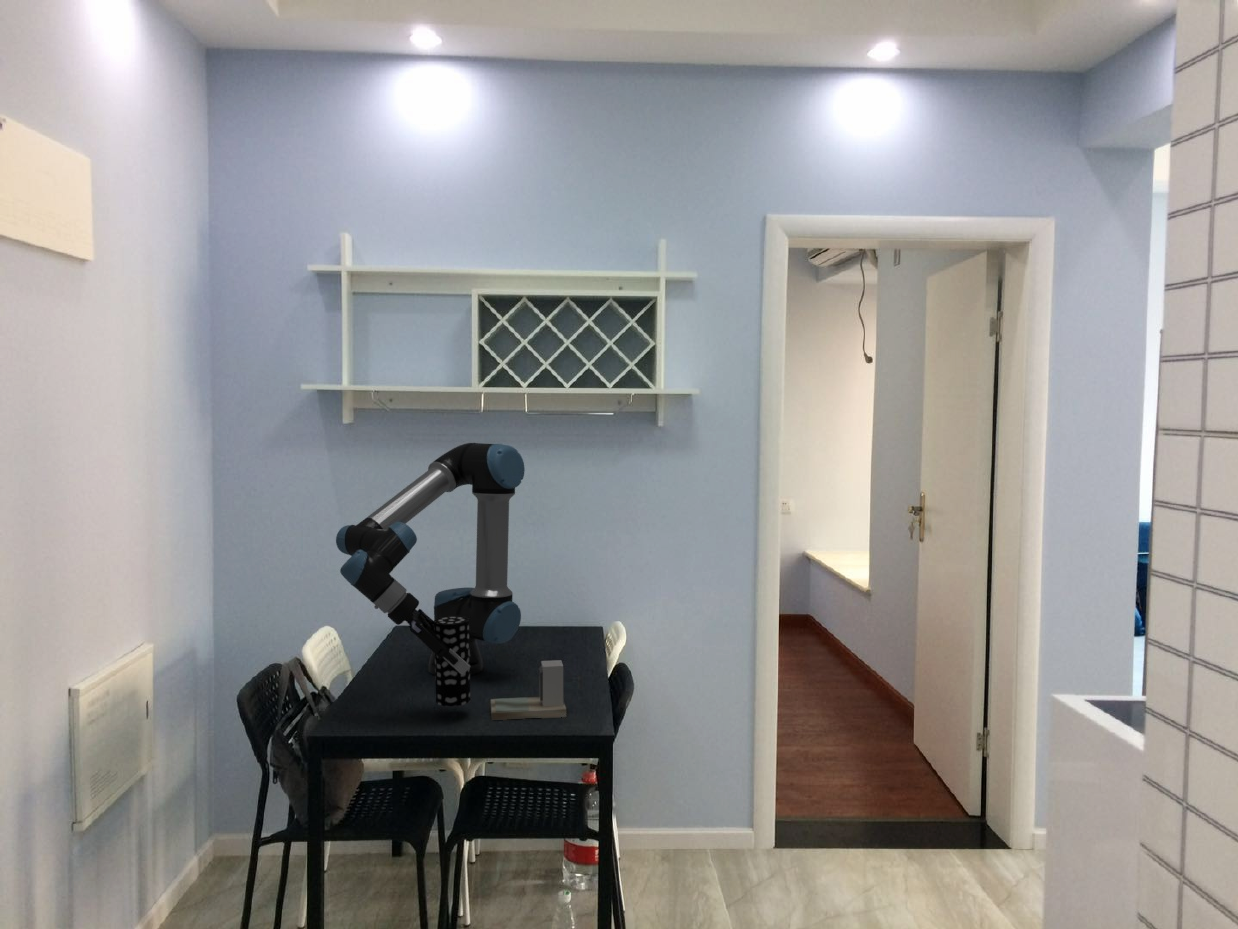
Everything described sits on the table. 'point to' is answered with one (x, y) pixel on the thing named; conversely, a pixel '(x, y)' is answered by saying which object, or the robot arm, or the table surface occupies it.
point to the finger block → (551, 683)
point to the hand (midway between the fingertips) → (466, 665)
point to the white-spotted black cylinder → (447, 679)
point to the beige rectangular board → (524, 709)
